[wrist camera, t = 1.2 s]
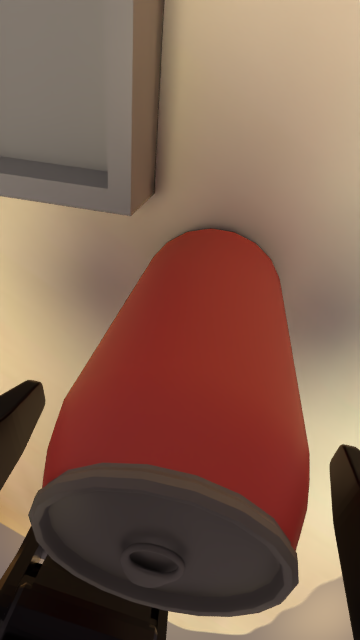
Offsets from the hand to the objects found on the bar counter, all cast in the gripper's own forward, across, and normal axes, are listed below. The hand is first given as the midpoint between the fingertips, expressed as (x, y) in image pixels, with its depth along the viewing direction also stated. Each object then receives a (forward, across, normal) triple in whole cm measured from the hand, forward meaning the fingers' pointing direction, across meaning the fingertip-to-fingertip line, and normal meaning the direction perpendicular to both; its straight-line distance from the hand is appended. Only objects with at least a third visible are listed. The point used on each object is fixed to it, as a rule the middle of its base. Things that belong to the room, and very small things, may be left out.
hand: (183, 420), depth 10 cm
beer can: (+8, 0, 0) cm, 9 cm away
